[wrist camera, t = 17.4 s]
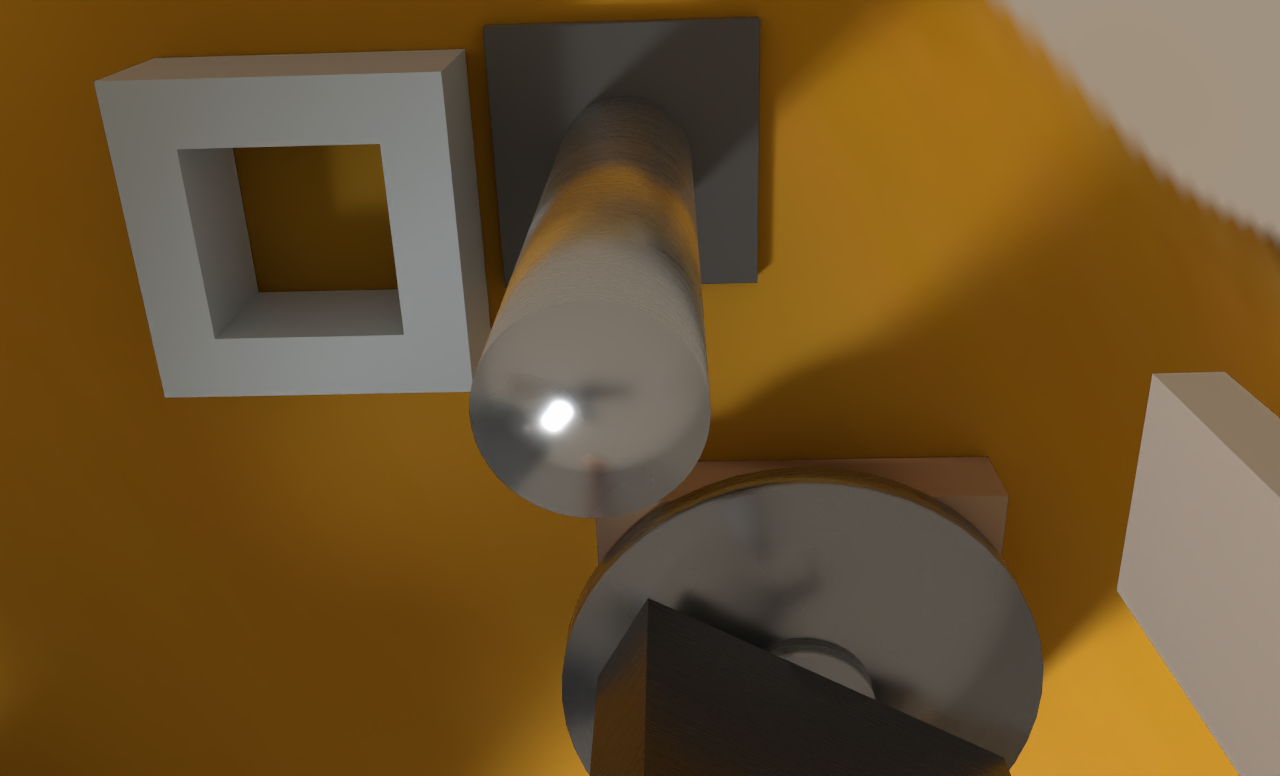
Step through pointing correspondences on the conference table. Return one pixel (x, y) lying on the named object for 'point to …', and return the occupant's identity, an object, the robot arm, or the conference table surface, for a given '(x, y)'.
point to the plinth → (944, 478)
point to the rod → (601, 325)
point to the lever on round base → (802, 637)
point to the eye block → (218, 237)
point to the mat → (645, 67)
